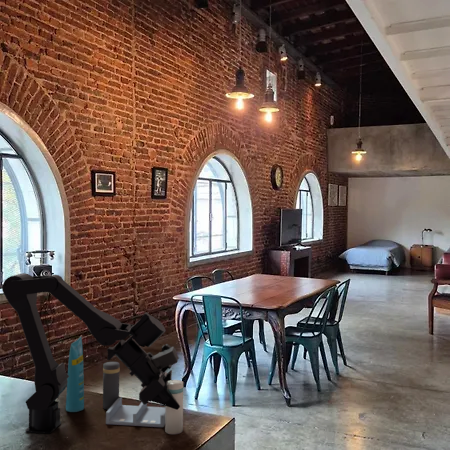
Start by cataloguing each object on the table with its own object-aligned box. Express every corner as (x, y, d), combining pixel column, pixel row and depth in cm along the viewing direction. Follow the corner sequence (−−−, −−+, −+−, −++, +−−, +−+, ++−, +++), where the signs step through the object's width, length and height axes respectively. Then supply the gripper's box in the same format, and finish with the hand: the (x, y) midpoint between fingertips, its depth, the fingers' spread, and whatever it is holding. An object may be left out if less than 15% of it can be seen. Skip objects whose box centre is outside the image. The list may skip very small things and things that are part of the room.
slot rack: (105, 424, 128) (106, 412, 127) (119, 407, 138) (119, 397, 138) (163, 427, 126) (163, 415, 126) (172, 410, 137) (172, 399, 137)
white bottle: (163, 433, 122) (163, 385, 122) (166, 426, 127) (167, 379, 127) (181, 434, 122) (181, 386, 122) (184, 427, 126) (184, 380, 126)
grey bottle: (100, 409, 137) (100, 366, 137) (105, 403, 142) (106, 361, 141) (116, 410, 137) (116, 366, 137) (121, 404, 141) (121, 362, 141)
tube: (80, 414, 133) (81, 343, 133) (62, 414, 133) (63, 342, 133) (87, 404, 141) (88, 336, 141) (69, 403, 141) (70, 336, 140)
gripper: (153, 346, 115) (200, 395, 115) (164, 328, 133) (204, 370, 133) (119, 380, 115) (166, 428, 115) (134, 357, 134) (175, 399, 134)
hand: (179, 404), depth 124 cm, fingers open, 5 cm apart
